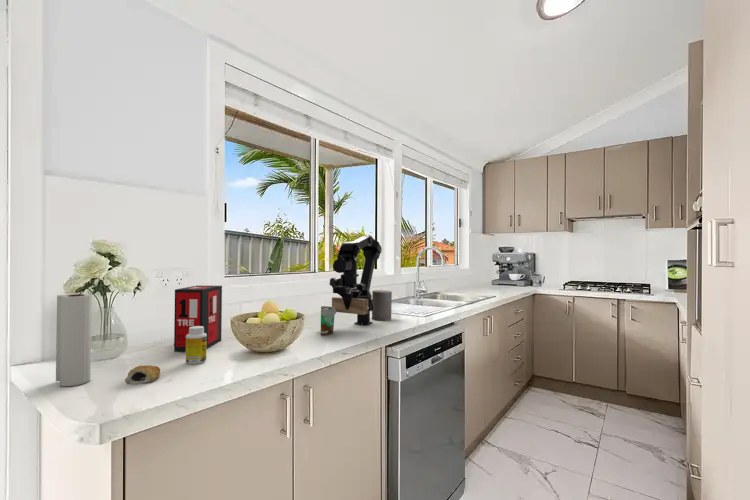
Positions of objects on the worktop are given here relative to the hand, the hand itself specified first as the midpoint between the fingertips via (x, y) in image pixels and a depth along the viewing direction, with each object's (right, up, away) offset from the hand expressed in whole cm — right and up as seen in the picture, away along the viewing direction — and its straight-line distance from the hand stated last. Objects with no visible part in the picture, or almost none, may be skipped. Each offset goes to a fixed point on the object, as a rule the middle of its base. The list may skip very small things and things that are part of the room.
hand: (349, 308), depth 168 cm
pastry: (-47, -8, -68) cm, 84 cm away
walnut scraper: (0, -2, 0) cm, 2 cm away
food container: (-8, -9, -8) cm, 14 cm away
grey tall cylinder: (-63, -8, -71) cm, 95 cm away
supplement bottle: (-41, -8, -53) cm, 67 cm away
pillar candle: (+14, -9, +27) cm, 32 cm away
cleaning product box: (-49, -8, -32) cm, 60 cm away
